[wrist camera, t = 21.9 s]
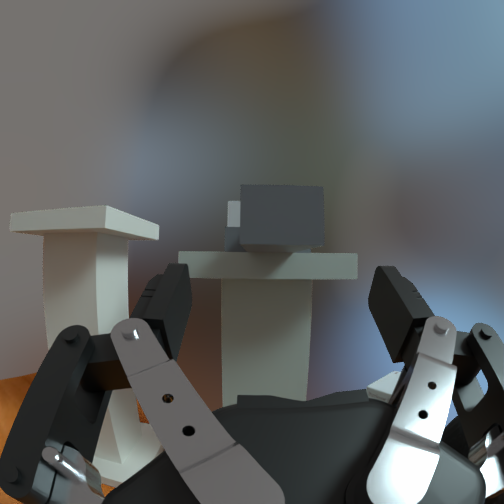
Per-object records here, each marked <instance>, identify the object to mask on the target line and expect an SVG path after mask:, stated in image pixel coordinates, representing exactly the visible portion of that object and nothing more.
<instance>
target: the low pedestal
mask: <svg viewBox="0 0 504 504" xmlns="http://www.w3.org/2000/svg"><path fill="white" fill-rule="evenodd" d="M357 255H358V254H356V253H355V254H354V253H272V252H188V251H187V252H185V251H179V263H186V264H187V265H188V268H189V276H190V277H191V278H222V389H223V390H222V391H223V407H225V406H229V405H233V404H237V395H272V396H277V397H282V398H287V399H293V400H299V401H306V393H307V380H308V366H309V351H310V331H311V308H312V279H357V257H358V256H357Z"/></svg>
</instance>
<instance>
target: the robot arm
mask: <svg viewBox="0 0 504 504" xmlns="http://www.w3.org/2000/svg"><path fill="white" fill-rule="evenodd" d="M368 304H369V309H370V311H371V314H372V316H373V318H374V320H375V322H376V325H377V327H378V329H379V331H380V333H381V335H382V338H383V340H384V343H385V345H386V347H387V350H388V352H389V354H390V357H391V359H392V362H393V363H398V362H404V363H405V366H404V368H403V369H402V371H401V374H400V376H399V379H398V381H397V384H396V386H395V388H394V391H393V393H392V395H391V398H390V400H389V402H388V403H386V402H384V401H381V400H378V399H373V398H368V395H367V391H366V389H362V390H353V391H343V392H336V393H333V394H329V395H326V396H323V397H320V398H316V399H313V400H309V401H299V400H293V399H287V398H282V397H277V396H272V395H237V404H233V405H229V406H225V407H222V408H220V409H217V410H215V411H213V412H211V411H210V409H209V408H208V407H207V406H206V404H205V403H204V402H203V400H202V399H201V397H200V396H199V395H198V393H197V392H196V391H195V389H194V388H193V386H192V385H191V383H190V382H189V381H188V379H187V378H186V376H185V375H184V373H183V372H182V370H181V369H180V368H179V366H178V365H177V363H176V361H177V357H178V354H179V350H180V346H181V342H182V339H183V335H184V332H185V328H186V325H187V321H188V318H189V314H190V311H191V306H192V292H191V284H190V276H189V268H188V265H187V264H186V263H169V264H168V266H167V269H166V270H165V272H164V274H163V275H156V276H155V277H153V278H152V279H151V280H150V281H149V282H148V284H147V286H146V288H145V291H143V293H142V295H141V297H140V299H139V301H138V303H137V305H136V306H135V308H134V310H133V312H132V314H131V316H130V318H129V319H125V320H122V321H120V322H118V323H117V324H116V325H115V326H114V327H113V328H112V330H111V333H108V334H100V335H92V336H91V335H90V333H89V330H88V329H87V328H86V327H84V326H82V325H73V326H69V327H67V328H65V329H63V330H62V331H61V332H60V333H59V334H58V336H57V337H56V339H55V341H54V343H53V344H52V346H51V348H50V350H49V351H48V353H47V355H46V357H45V359H44V361H43V363H42V364H41V366H40V368H39V370H38V372H37V374H36V376H35V378H34V380H33V382H32V384H31V386H30V388H29V390H28V392H27V394H26V396H25V398H24V400H23V403H22V405H21V407H20V409H19V412H18V414H17V416H16V418H15V421H14V423H13V426H12V428H11V431H10V433H9V436H8V438H7V441H6V444H5V446H4V449H3V452H2V455H1V458H0V487H1V488H2V490H3V491H4V492H5V493H6V494H7V495H9V496H11V497H12V498H14V499H16V500H18V501H20V502H22V503H23V504H484V502H485V498H494V497H496V496H498V495H500V494H501V493H503V492H504V344H503V342H502V341H501V339H500V337H499V336H498V334H497V333H496V331H495V330H494V329H493V328H492V327H490V326H489V325H486V324H483V323H476V324H475V325H474V326H473V327H472V329H471V331H470V333H467V332H459V331H456V328H455V326H454V325H453V324H452V323H451V322H450V321H449V320H447V319H445V318H443V317H439V316H435V315H434V314H433V312H432V311H431V309H430V308H429V306H428V305H427V303H426V302H425V300H424V299H423V298H422V296H421V295H420V293H419V292H418V290H417V289H416V287H415V286H414V285H413V283H411V282H410V281H409V280H407V279H406V278H405V277H402V276H401V274H400V273H399V272H398V270H397V269H396V267H394V266H378V267H377V268H376V270H375V274H374V278H373V282H372V286H371V290H370V293H369V298H368ZM480 370H482V372H483V373H484V375H485V377H486V379H487V382H488V390H487V393H486V394H485V395H484V393H483V391H482V389H481V387H480V385H479V383H478V380H477V379H476V375H477V374H478V373H479V371H480ZM127 388H132V389H133V391H134V393H135V396H136V398H137V400H138V402H139V404H140V406H141V408H142V410H143V412H144V414H145V415H146V417H147V419H148V421H149V423H150V425H151V427H152V429H153V430H154V432H155V434H156V436H157V437H158V439H159V441H160V443H161V444H162V446H163V448H164V449H165V450H164V451H163V452H162V453H161V454H159V455H158V456H157V457H156V458H154V459H153V460H152V461H151V462H149V463H148V464H147V465H145V466H144V467H143V468H142V469H140V470H139V471H138V472H136V473H135V474H134V475H132V476H131V477H130V478H128V479H127V480H126V481H124V482H123V483H122V484H120V485H119V486H117V487H116V488H115V489H113V490H112V491H111V492H110V493H109V494H108V495H107V496H106V497H104V495H103V493H102V489H101V476H100V473H99V471H98V469H97V468H96V467H95V466H94V465H93V464H92V462H93V458H94V454H95V450H96V446H97V443H98V439H99V435H100V431H101V428H102V424H103V421H104V417H105V414H106V410H107V407H108V404H109V401H110V397H111V394H112V391H113V390H118V389H127ZM451 398H452V400H453V403H454V406H455V408H456V411H457V414H458V417H459V419H460V422H461V425H462V428H463V431H464V434H465V437H466V440H467V443H468V447H469V450H470V452H469V456H468V459H467V458H466V457H464V456H463V455H461V454H460V453H459V452H457V451H456V450H454V449H453V448H451V447H450V446H449V445H447V444H446V443H444V442H443V441H441V440H440V439H441V436H442V433H443V429H444V425H445V422H446V418H447V414H448V410H449V406H450V401H451Z"/></svg>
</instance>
